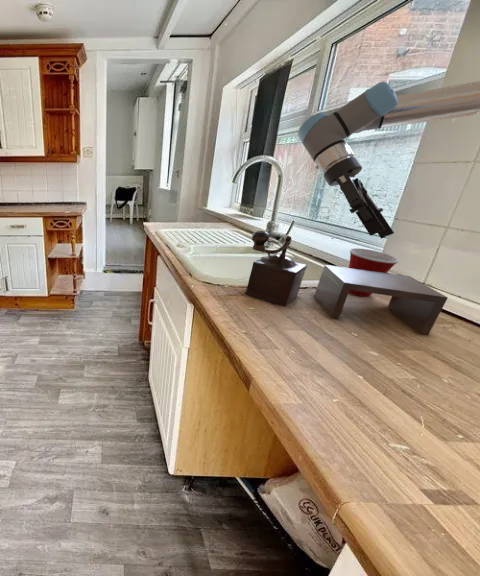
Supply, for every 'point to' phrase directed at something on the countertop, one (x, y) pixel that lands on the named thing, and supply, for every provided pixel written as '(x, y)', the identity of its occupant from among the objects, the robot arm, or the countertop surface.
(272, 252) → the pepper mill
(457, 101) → the robot arm
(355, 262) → the plastic cup
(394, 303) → the shelf
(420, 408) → the countertop surface
